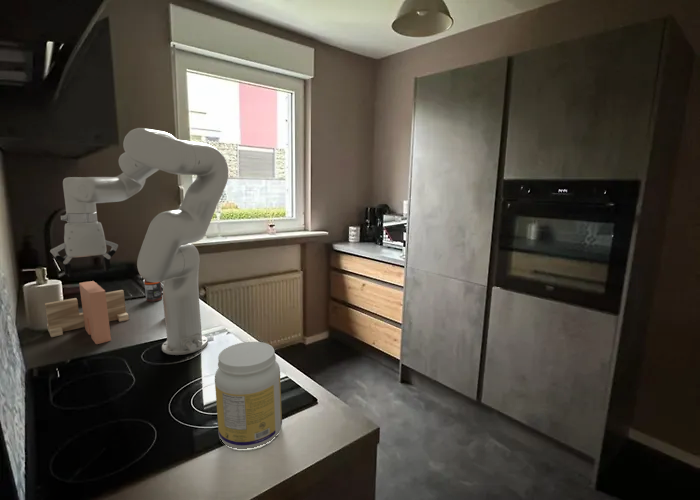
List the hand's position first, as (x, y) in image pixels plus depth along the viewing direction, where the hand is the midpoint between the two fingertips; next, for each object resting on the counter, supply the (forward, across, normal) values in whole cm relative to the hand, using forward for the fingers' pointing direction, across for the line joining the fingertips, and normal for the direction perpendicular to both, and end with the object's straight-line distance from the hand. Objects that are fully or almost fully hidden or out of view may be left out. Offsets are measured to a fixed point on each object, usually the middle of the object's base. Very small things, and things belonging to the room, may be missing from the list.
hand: (88, 273), depth 118 cm
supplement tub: (+19, +12, -78) cm, 81 cm away
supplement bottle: (+21, +26, +25) cm, 41 cm away
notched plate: (+20, 0, -1) cm, 20 cm away
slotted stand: (+20, 0, +11) cm, 23 cm away
